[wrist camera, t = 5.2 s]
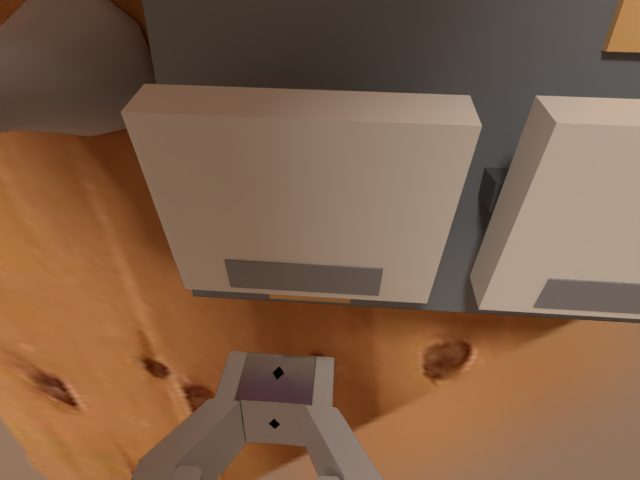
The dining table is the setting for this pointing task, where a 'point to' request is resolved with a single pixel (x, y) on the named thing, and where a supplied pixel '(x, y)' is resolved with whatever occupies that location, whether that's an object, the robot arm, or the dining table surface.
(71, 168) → the dining table surface
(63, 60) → the flask
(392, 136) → the switch
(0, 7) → the dining table surface
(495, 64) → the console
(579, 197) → the switch
